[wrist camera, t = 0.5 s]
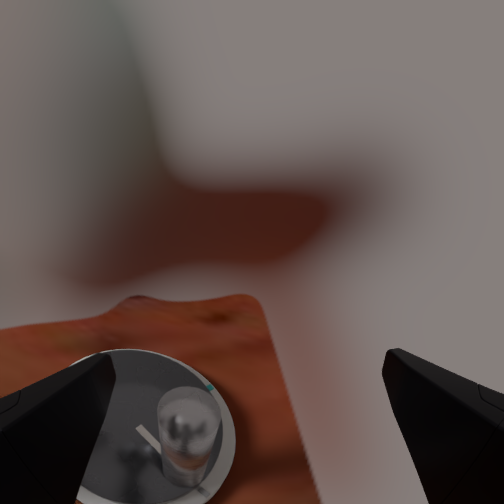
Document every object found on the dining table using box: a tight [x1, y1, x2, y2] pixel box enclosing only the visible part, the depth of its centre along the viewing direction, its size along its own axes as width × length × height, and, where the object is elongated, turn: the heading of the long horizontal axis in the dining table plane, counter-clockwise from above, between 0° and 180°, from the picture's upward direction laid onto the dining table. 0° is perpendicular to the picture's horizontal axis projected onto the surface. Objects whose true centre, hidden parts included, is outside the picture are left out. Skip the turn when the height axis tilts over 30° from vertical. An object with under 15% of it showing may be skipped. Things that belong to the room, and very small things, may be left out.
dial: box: [81, 350, 223, 504], centre depth 14 cm, size 12×12×9 cm
